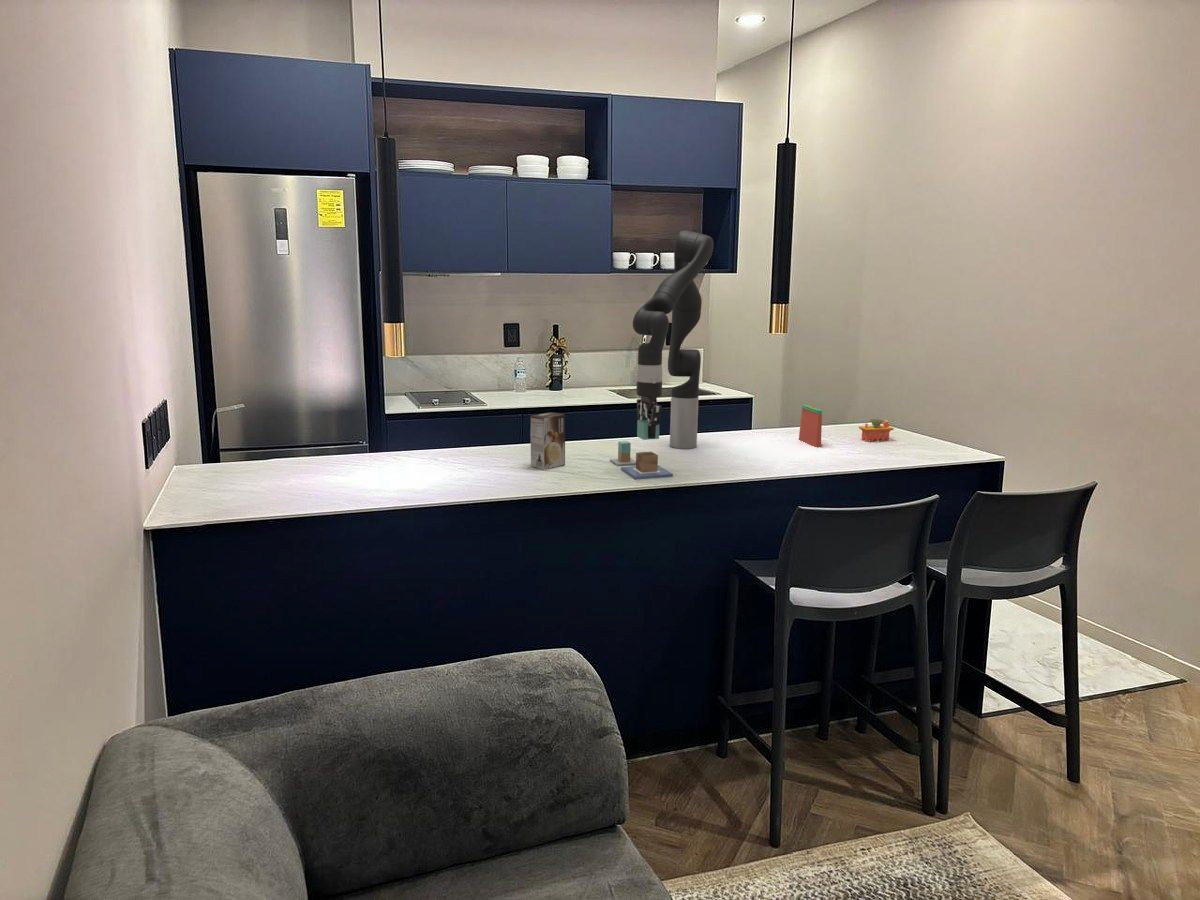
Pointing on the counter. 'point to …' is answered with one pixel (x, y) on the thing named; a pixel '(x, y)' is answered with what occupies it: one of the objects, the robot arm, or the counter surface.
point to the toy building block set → (813, 427)
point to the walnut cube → (646, 462)
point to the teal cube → (645, 430)
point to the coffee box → (547, 440)
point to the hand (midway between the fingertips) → (648, 436)
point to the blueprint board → (646, 473)
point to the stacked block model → (623, 455)
